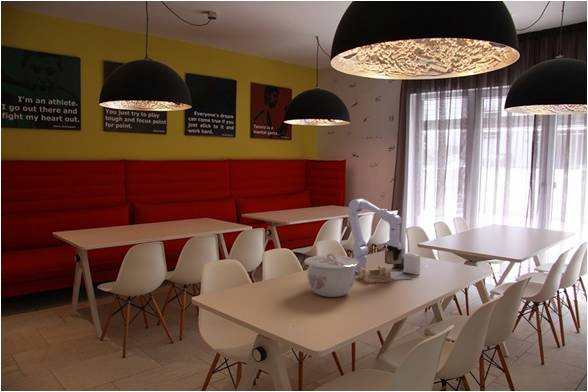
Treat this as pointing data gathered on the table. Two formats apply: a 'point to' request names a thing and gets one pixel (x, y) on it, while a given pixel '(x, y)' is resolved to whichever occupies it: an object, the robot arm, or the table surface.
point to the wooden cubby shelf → (375, 275)
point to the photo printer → (412, 263)
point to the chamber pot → (331, 274)
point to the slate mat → (399, 276)
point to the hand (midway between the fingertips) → (393, 259)
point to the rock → (400, 263)
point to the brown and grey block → (390, 259)
